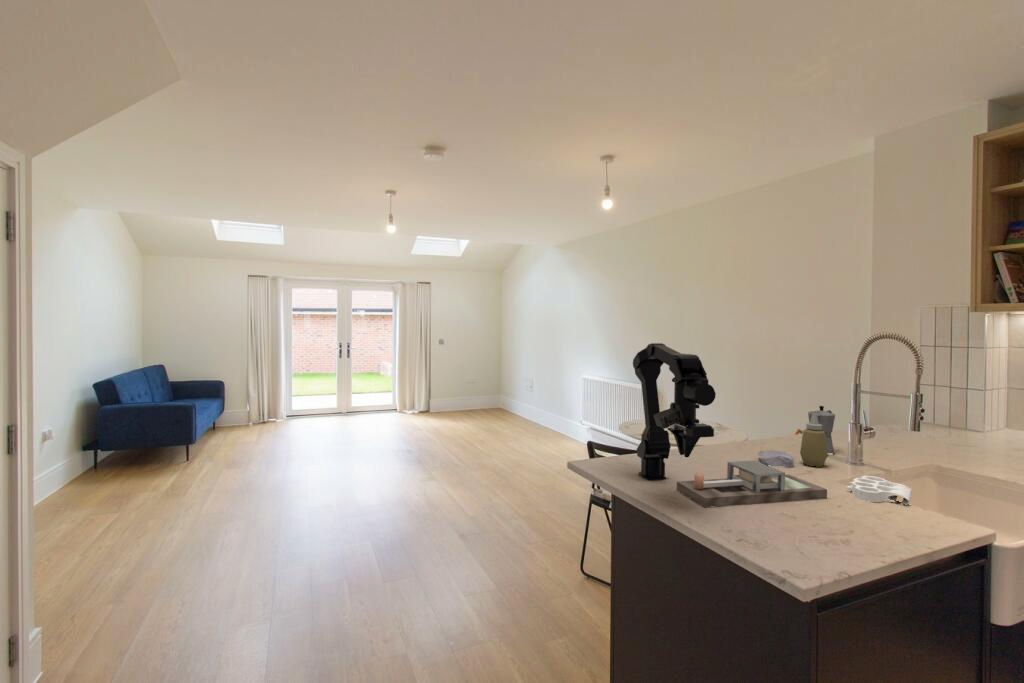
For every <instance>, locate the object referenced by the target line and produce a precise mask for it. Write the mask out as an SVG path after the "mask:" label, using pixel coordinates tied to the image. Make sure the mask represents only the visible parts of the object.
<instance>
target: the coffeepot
mask: <svg viewBox="0 0 1024 683" xmlns="http://www.w3.org/2000/svg"><path fill="white" fill-rule="evenodd" d="M824 408H825V406H823V405H819V410H813V411H808V413H807V417H808V421H809V422H808V423H810V421H811V418H812V414H817V418H818V423H819V424H821V425H822V431H824V432H825V436H826V446H827V453H834V454H835V452H834V446H833V445H834V444H833V438H832V432H833V429H834V424H835V419H836V414H835V413H832V411H831V410H825V409H824Z"/></svg>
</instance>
